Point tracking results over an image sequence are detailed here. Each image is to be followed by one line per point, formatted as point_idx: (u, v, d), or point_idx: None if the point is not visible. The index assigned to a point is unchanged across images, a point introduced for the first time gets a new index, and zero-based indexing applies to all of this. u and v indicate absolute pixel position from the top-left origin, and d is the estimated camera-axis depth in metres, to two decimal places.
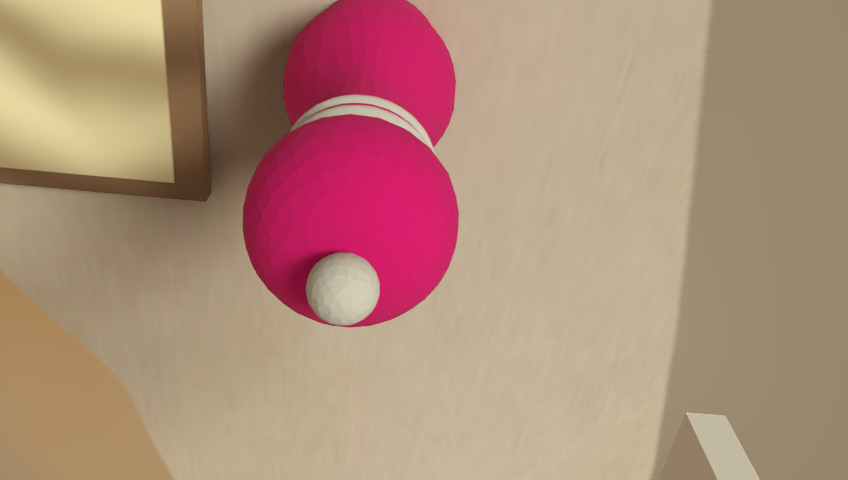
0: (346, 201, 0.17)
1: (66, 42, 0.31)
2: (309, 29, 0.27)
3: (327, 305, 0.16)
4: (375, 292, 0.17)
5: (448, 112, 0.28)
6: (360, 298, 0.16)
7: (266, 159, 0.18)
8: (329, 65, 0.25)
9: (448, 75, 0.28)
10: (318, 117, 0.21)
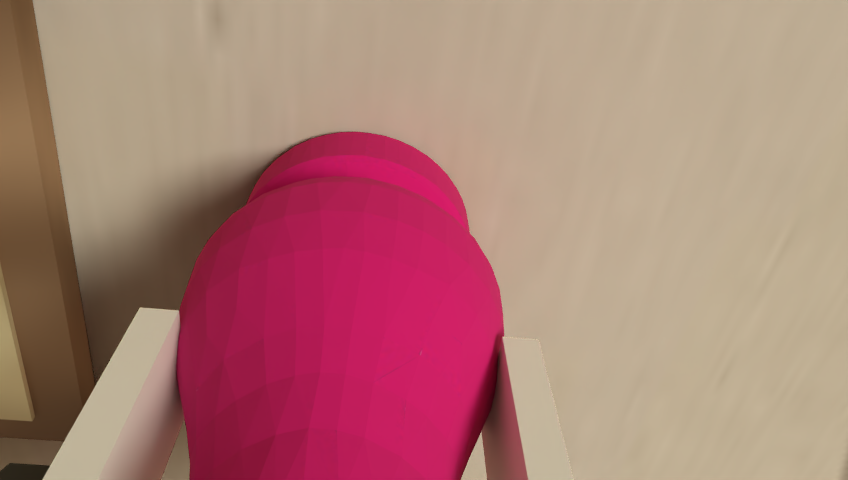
0: None
1: None
2: (220, 248, 0.14)
3: None
4: None
5: (493, 398, 0.14)
6: None
7: None
8: (247, 363, 0.12)
9: (494, 330, 0.14)
10: None
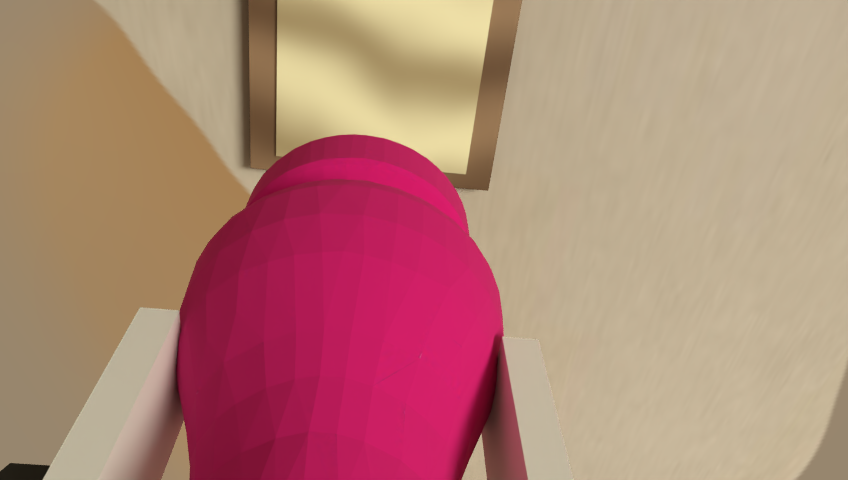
0: None
1: (404, 54, 0.37)
2: (220, 251, 0.14)
3: None
4: None
5: None
6: None
7: None
8: (248, 366, 0.12)
9: (493, 332, 0.14)
10: None
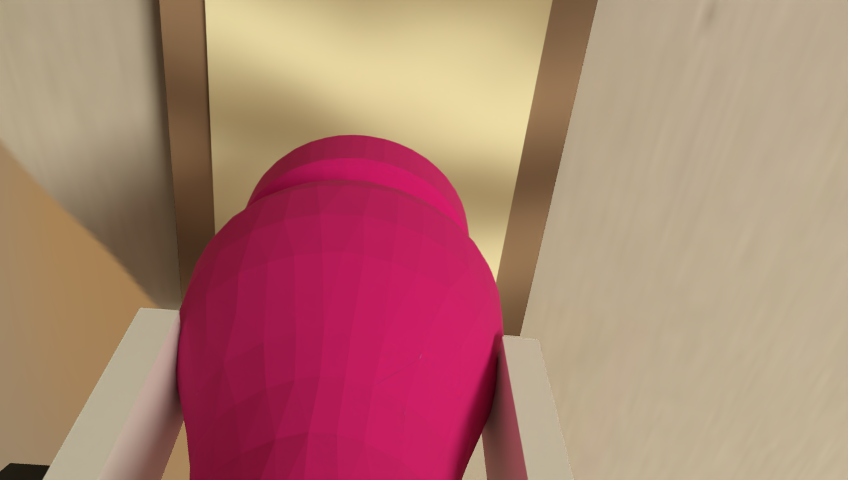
0: None
1: None
2: (220, 251, 0.14)
3: None
4: None
5: None
6: None
7: None
8: (248, 367, 0.12)
9: (493, 333, 0.14)
10: None
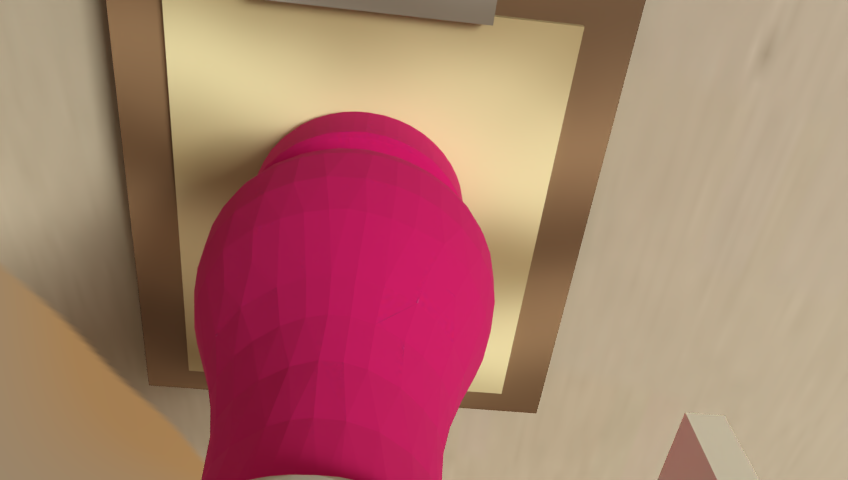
0: None
1: None
2: (235, 211, 0.15)
3: None
4: None
5: (484, 350, 0.16)
6: None
7: None
8: (262, 308, 0.13)
9: (484, 287, 0.16)
10: None
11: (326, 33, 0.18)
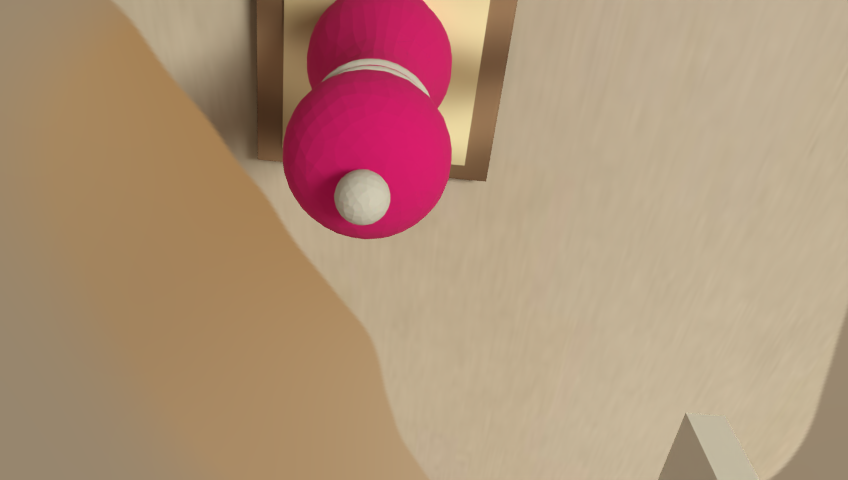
0: (365, 130, 0.22)
1: None
2: (329, 12, 0.33)
3: (351, 206, 0.21)
4: (387, 198, 0.22)
5: (445, 82, 0.33)
6: (376, 201, 0.21)
7: (302, 103, 0.24)
8: (347, 40, 0.31)
9: (445, 50, 0.33)
10: None
11: None
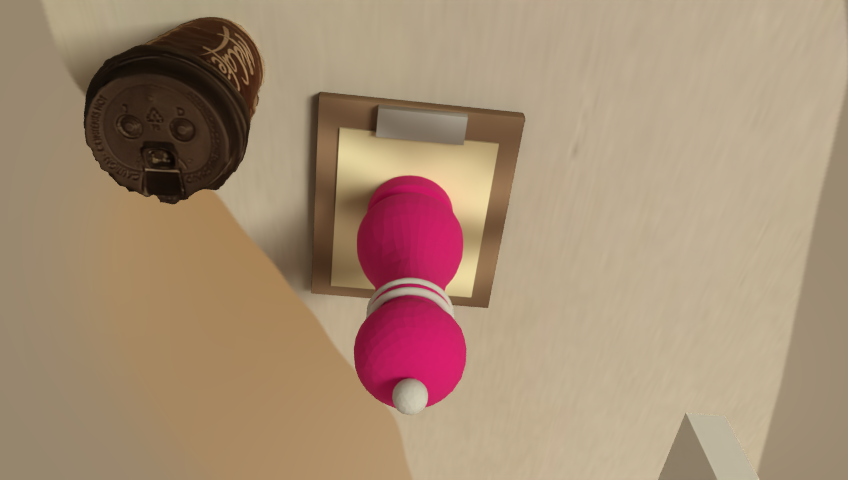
0: (411, 353, 0.34)
1: None
2: (375, 215, 0.45)
3: (403, 406, 0.34)
4: (426, 399, 0.34)
5: (459, 263, 0.46)
6: (419, 403, 0.34)
7: (368, 326, 0.36)
8: (390, 244, 0.43)
9: (459, 241, 0.45)
10: (390, 293, 0.38)
11: (400, 146, 0.48)
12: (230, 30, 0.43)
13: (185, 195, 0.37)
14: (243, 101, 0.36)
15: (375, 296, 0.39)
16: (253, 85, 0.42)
